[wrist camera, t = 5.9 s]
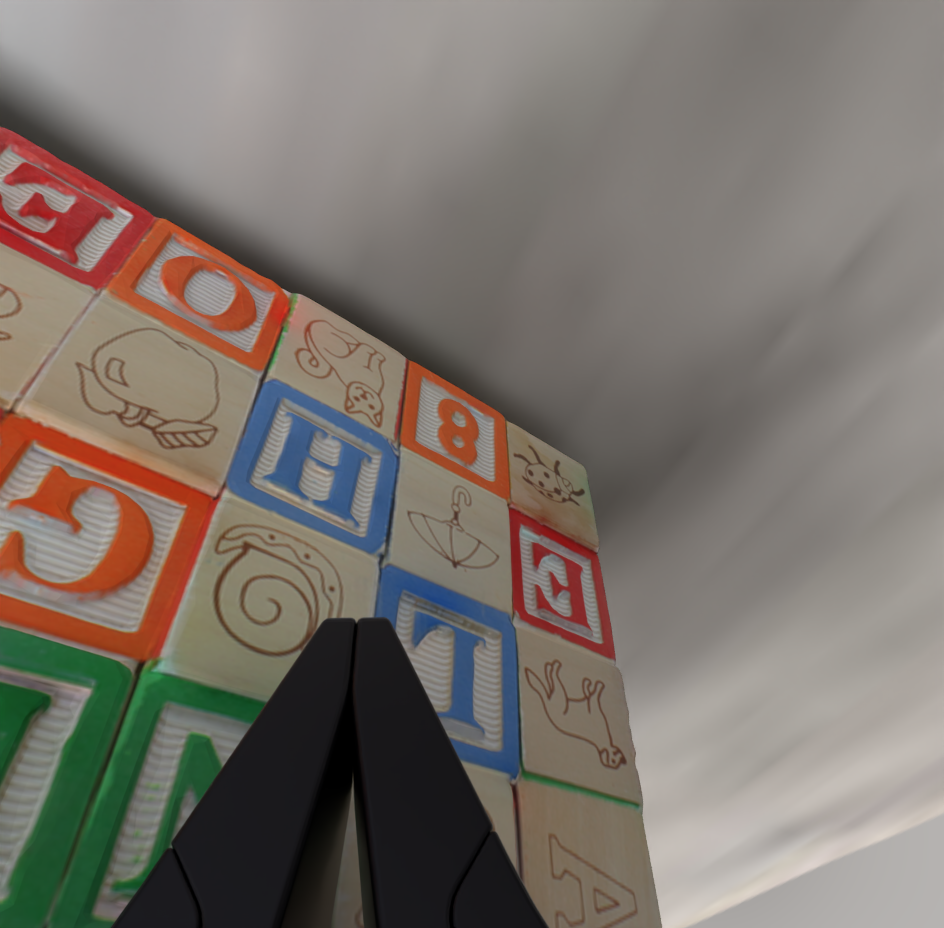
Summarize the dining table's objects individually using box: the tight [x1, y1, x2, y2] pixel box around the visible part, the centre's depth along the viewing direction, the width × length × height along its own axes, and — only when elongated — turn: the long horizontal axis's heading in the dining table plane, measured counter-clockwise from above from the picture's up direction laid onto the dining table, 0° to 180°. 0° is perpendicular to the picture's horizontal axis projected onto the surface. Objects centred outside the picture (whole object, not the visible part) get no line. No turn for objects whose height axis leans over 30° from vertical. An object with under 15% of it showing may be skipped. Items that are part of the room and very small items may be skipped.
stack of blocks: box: [0, 127, 662, 928], centre depth 12 cm, size 21×6×12 cm, turn 54°
